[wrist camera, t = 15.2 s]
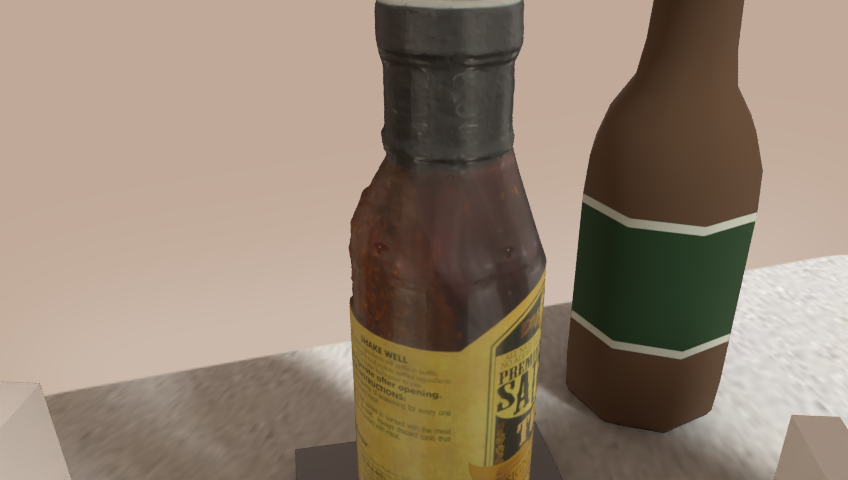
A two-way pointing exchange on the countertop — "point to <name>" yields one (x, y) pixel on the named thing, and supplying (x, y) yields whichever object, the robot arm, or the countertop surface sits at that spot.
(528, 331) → the sauce bottle
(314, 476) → the rubber mat
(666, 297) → the beer bottle
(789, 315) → the countertop surface
